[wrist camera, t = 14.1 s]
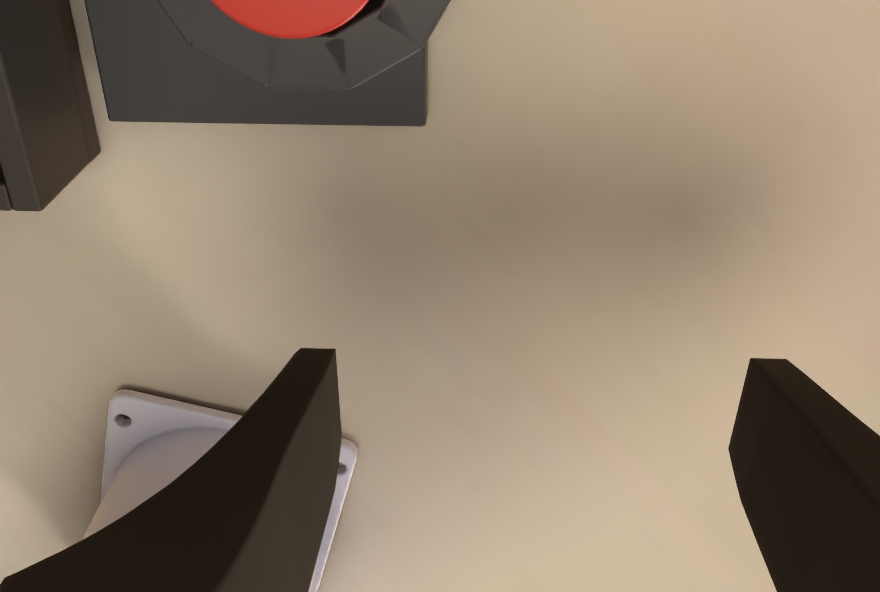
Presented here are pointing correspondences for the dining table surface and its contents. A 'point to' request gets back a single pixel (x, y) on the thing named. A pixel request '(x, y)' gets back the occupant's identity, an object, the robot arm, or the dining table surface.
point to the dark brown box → (41, 104)
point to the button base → (262, 65)
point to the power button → (291, 15)
